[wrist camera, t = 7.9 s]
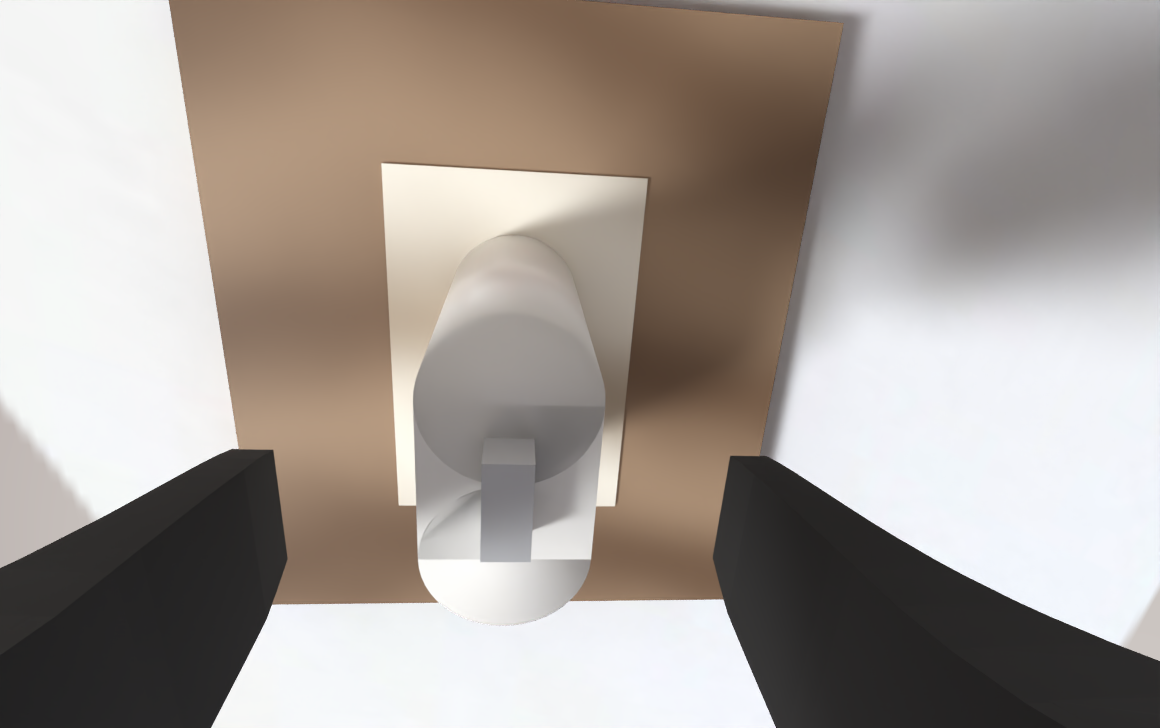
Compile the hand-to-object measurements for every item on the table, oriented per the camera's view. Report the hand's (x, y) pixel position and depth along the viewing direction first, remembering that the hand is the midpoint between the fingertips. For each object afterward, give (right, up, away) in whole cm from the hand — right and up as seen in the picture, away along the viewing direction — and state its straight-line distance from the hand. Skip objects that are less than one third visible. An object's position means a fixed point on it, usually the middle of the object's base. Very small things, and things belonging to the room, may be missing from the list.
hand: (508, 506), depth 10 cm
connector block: (-1, +2, +6) cm, 6 cm away
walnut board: (-1, +3, +7) cm, 8 cm away
